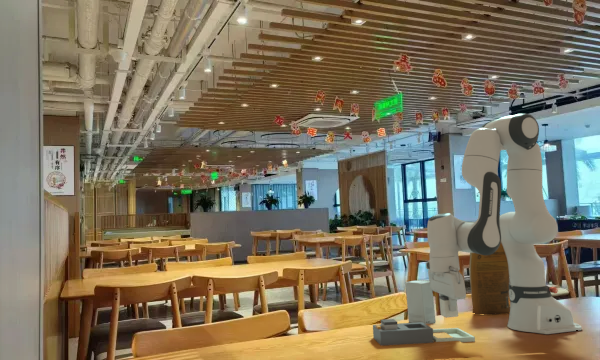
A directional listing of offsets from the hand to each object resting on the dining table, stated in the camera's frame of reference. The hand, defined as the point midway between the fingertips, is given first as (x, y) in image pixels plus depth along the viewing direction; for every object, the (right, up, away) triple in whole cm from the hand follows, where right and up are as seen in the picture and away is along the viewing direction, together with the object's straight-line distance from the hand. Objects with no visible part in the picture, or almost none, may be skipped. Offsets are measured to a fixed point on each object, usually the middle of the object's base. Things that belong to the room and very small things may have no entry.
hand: (449, 309), depth 149 cm
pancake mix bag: (+28, -11, +35) cm, 46 cm away
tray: (-1, -9, -1) cm, 9 cm away
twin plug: (-19, -8, -5) cm, 22 cm away
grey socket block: (-15, -9, -4) cm, 19 cm away
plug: (0, -2, 0) cm, 2 cm away
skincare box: (-3, -11, +23) cm, 26 cm away
